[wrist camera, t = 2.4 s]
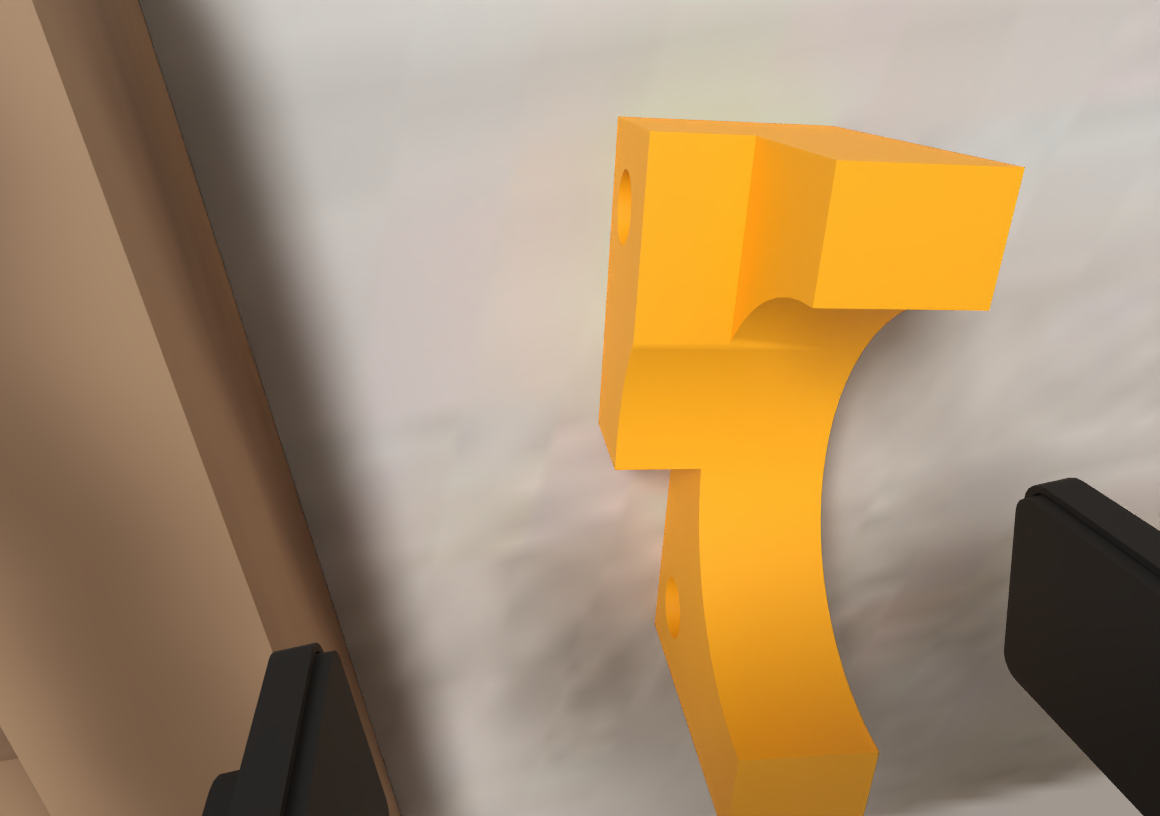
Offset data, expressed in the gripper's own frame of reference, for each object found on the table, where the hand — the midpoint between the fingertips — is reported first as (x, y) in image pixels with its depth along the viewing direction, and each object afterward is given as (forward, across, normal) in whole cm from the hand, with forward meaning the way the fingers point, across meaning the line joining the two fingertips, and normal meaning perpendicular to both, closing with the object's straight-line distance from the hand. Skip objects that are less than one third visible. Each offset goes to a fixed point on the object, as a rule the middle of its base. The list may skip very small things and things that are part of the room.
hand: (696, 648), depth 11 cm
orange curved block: (+8, -2, 0) cm, 9 cm away
